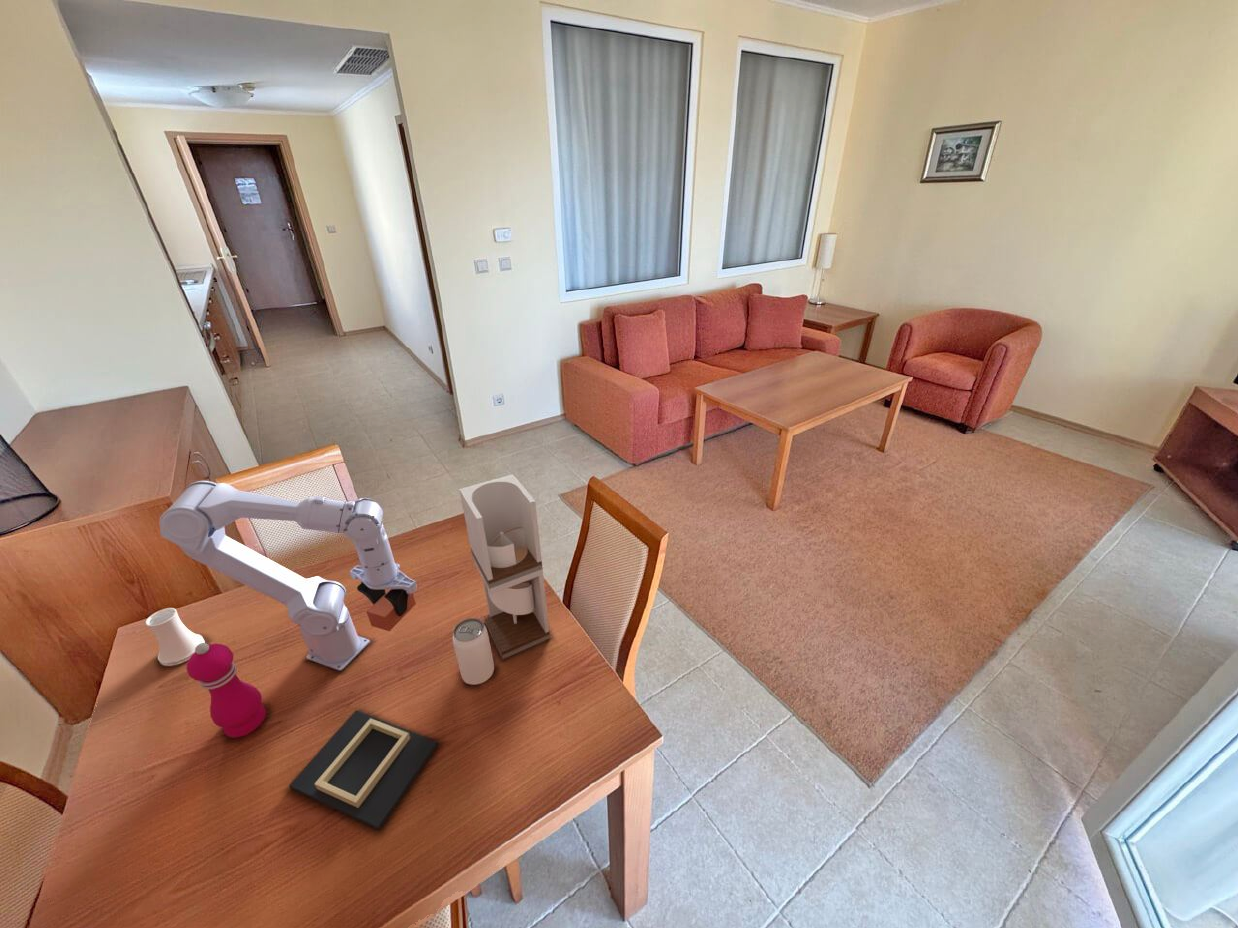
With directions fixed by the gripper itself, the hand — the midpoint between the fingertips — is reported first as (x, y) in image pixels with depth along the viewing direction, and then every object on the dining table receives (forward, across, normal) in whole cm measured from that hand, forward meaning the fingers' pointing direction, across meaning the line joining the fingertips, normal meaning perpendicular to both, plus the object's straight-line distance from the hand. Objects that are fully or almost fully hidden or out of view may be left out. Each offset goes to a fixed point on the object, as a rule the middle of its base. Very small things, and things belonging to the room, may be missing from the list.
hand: (392, 609), depth 102 cm
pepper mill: (+9, +14, +25) cm, 30 cm away
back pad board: (+8, -13, +24) cm, 29 cm away
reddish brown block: (+1, 0, 0) cm, 1 cm away
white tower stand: (+8, -23, -10) cm, 26 cm away
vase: (+9, +42, +17) cm, 46 cm away
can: (+9, -20, +2) cm, 22 cm away
